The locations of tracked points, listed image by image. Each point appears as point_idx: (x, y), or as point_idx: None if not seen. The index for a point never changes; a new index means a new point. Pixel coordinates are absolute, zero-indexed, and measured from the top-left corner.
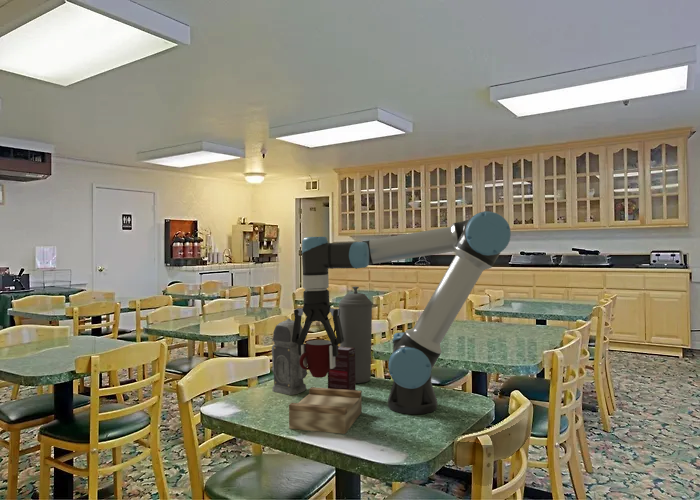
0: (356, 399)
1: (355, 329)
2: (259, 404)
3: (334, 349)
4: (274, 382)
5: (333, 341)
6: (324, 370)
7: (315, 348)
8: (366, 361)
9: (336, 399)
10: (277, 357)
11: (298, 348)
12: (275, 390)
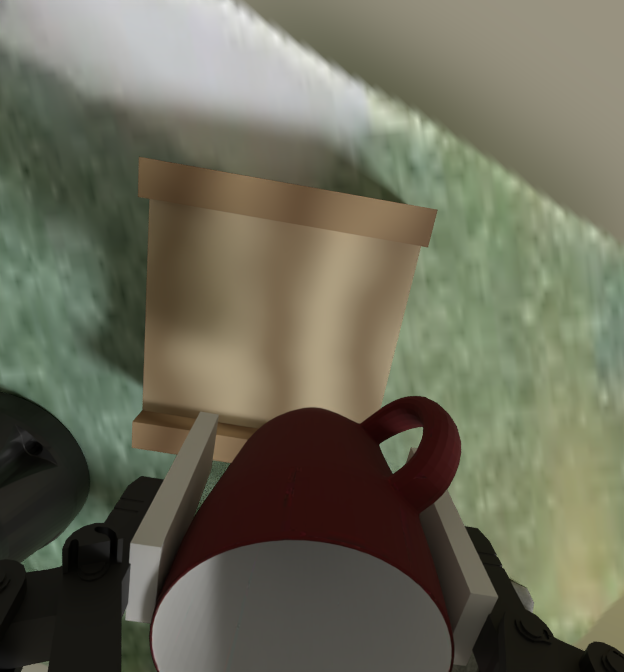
0: (151, 385)
1: None
2: (560, 458)
3: (125, 526)
4: None
5: (78, 594)
6: (265, 423)
7: (317, 505)
8: None
9: (237, 380)
10: None
11: (509, 583)
12: (517, 586)
